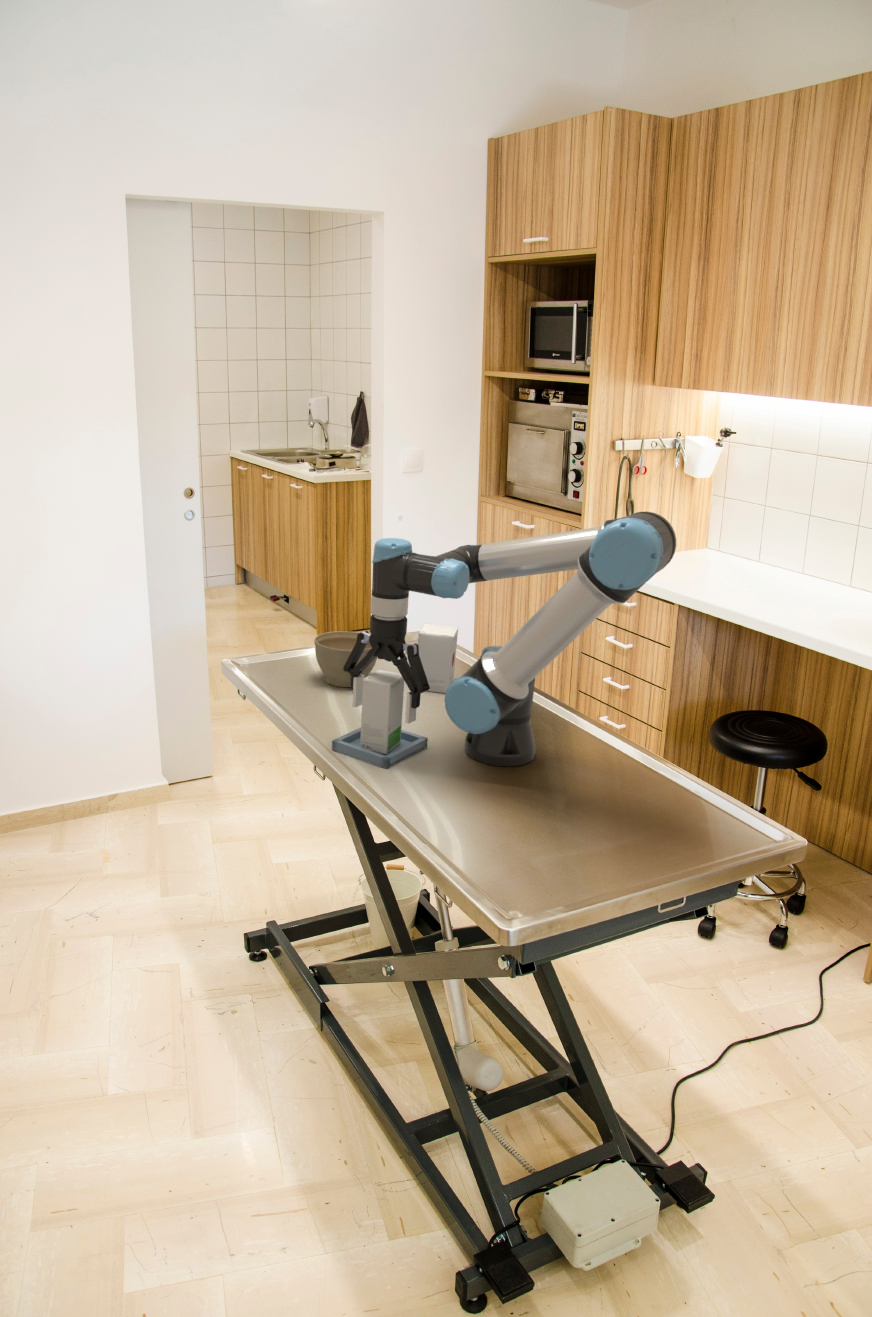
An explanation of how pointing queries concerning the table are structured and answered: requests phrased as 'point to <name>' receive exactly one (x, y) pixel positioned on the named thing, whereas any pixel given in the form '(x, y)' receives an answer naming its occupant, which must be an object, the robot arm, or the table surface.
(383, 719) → the skincare box
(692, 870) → the table surface
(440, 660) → the supplement box
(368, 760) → the tray
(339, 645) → the planter bowl
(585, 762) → the table surface
